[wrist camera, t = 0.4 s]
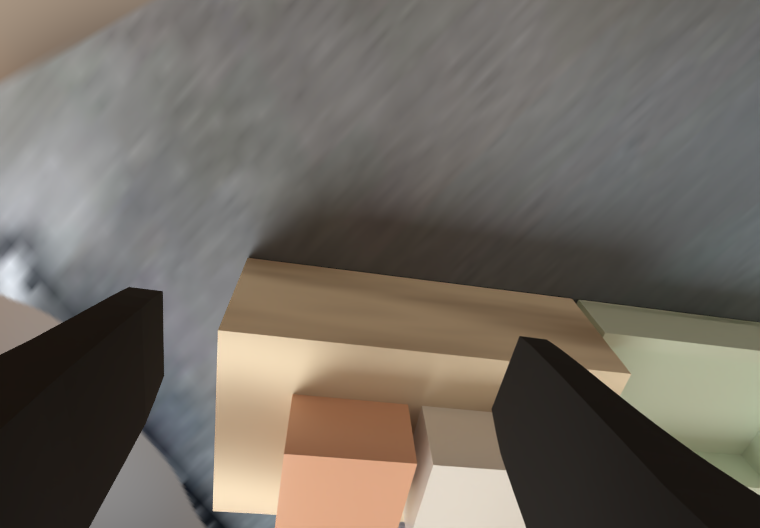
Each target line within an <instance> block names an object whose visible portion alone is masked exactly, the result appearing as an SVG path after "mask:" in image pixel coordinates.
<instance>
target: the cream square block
mask: <svg viewBox="0 0 760 528" xmlns="http://www.w3.org/2000/svg"><path fill="white" fill-rule="evenodd" d="M413 439H414V446H415V452H416V459H417V466H416V470H415V473H414V477H413V480H412V483H411V487H410V490H409V493H408V497H407V500H406V503H405V507H404V510H403V514H404V522H405V528H526V526H525V523H524V520H523V518H522V515H521V512H520V509H519V506H518V503H517V501H516V498H515V495H514V492H513V489H512V486H511V483H510V481H509V478H508V475H507V472H506V469H505V466H504V463H503V460H502V457H501V454H500V449H499V445H498V440H497V436H496V431H495V425H494V420H493V415H492V412H485V411H474V410H463V409H452V408H441V407H430V406H422V408H421V411H420V415H419V418H418V422H417V425H416V429H415V432H414V436H413Z"/></svg>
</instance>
